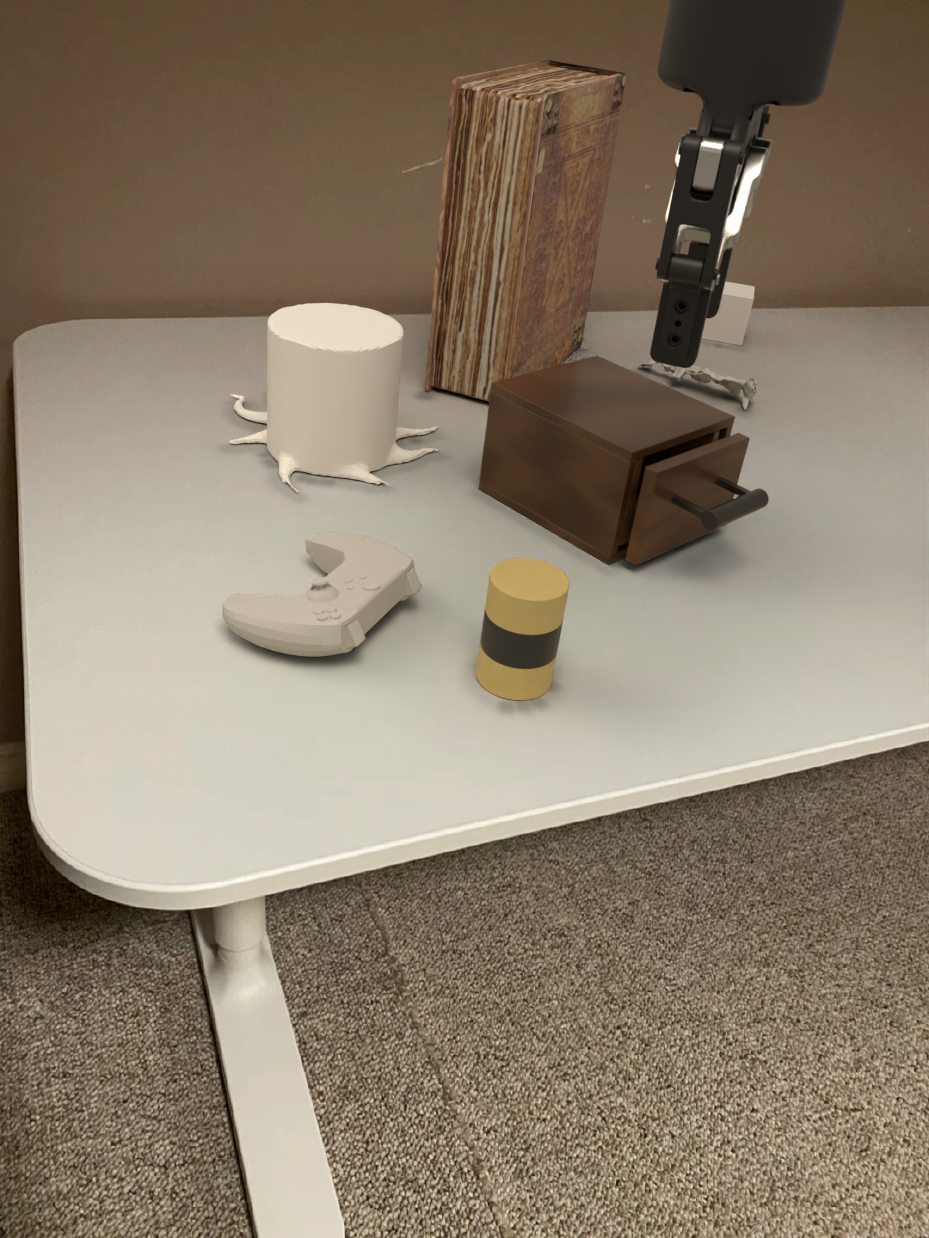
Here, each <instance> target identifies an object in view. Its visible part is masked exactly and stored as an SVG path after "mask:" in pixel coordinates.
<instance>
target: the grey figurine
mask: <svg viewBox="0 0 929 1238" xmlns="http://www.w3.org/2000/svg"><path fill="white" fill-rule="evenodd" d="M655 364H657V365H658V366H659V365H662V366H663V368H664V372H670V373H672V378H675V380H676V381H678V382H680V381H681V380H682V379H683V378H684V377H685V375H689V376H690V378H691V379H692V380H694V381H695V382H697V383H698V384H709V383H712V382H714V383H715V384H716V385H719V386H721V387H723V388H724V389H725V390H727V391H729V392H730V394H732V395H733V396H739V395H740V394H742V393H743V396H742V397H741V403H742V408H743V409H744V411H746V410H747V408H748V407H749V405H750V406H752V402H753V401H754V397H756V396H757V395H758V390H759V388H758V387H759V385H758V382H757V381H756V380H755V378H753V377H751V378H749V379H747V380H746V379H737V378H735V377H733V376H731V375H725V376H724V375H721V374H718V373H714V372H713V370H711V369H709V368H708V367H705V368H701V367H699V366H697V365H692V366H691V367H689V368H681V367H677V366H672V365H667V364H662V363H657V362H655V361H654V360H653V359H650V360H649V362H648V363H646V362H640V363H639V364H638V366H640V367H641V368H642V369H643V368H646V367H649V368H653V365H655Z"/></svg>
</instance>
